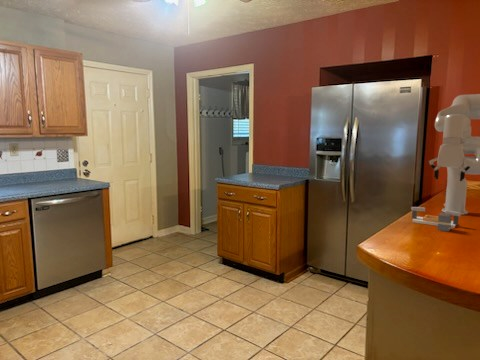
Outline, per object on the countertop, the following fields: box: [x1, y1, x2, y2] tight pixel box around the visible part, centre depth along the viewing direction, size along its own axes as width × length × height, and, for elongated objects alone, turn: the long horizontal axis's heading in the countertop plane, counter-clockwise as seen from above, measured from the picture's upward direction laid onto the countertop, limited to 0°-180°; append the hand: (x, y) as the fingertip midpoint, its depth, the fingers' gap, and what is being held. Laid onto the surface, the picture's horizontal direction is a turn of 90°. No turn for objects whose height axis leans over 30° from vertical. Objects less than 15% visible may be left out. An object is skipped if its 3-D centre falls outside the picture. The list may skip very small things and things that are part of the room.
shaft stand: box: [411, 206, 462, 229], centre depth 175 cm, size 21×10×7 cm, turn 53°
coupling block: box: [436, 212, 453, 233], centre depth 163 cm, size 5×6×7 cm
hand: (448, 179), depth 162 cm, fingers open, 9 cm apart
